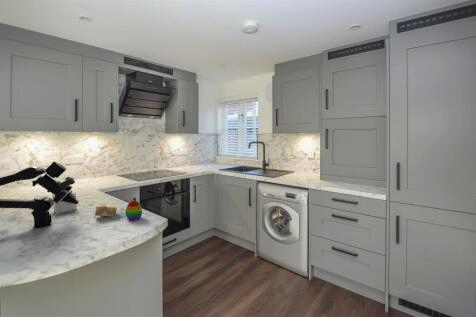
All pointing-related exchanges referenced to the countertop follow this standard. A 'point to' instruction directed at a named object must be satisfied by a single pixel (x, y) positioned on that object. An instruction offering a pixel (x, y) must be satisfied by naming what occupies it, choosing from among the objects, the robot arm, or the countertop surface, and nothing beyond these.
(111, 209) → the oak block
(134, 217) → the decorative egg
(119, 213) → the slate mat
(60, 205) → the light bulb box
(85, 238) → the countertop surface
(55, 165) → the robot arm
